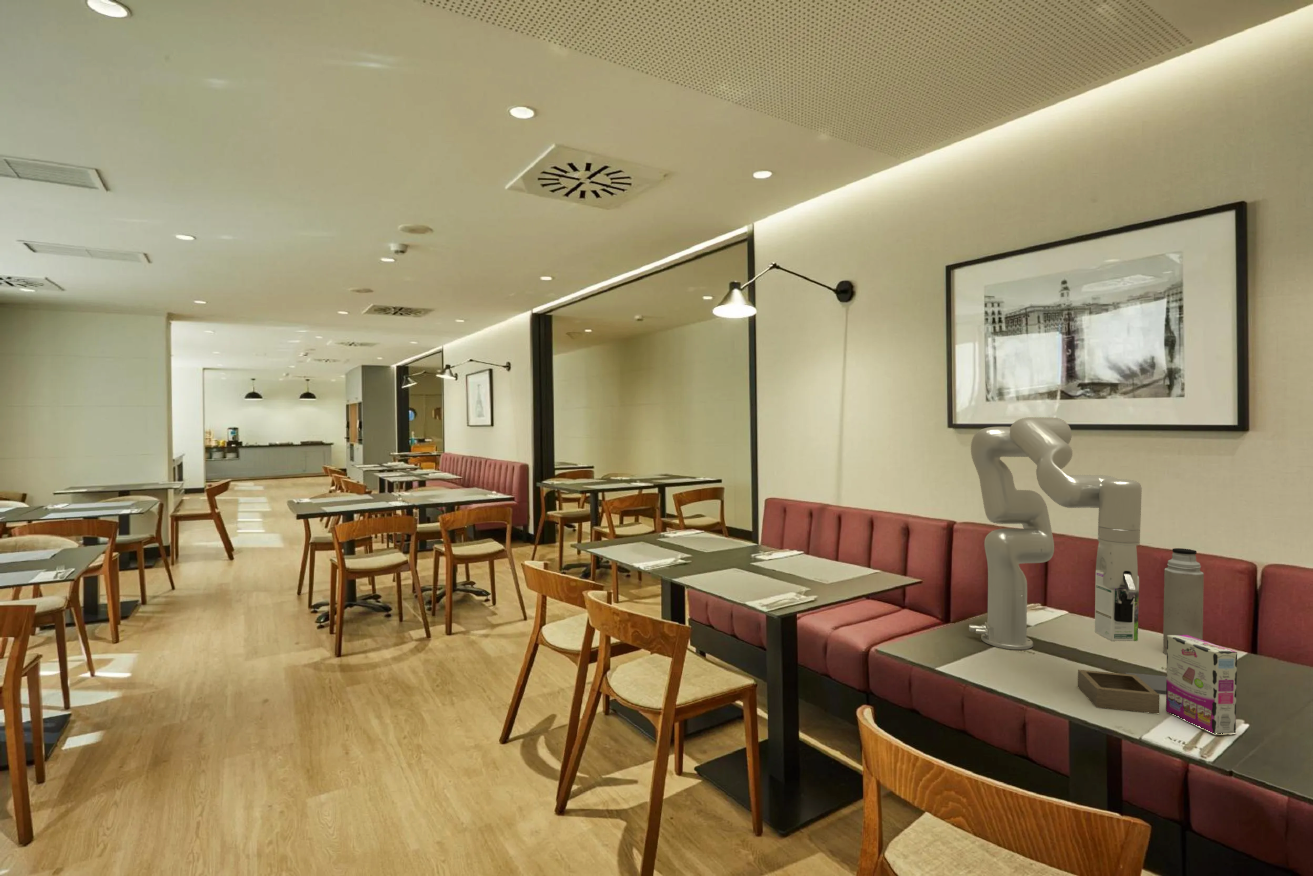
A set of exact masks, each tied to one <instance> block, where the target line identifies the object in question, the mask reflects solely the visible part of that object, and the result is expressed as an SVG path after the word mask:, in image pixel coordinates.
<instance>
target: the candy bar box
mask: <svg viewBox="0 0 1313 876" xmlns="http://www.w3.org/2000/svg"><path fill="white" fill-rule="evenodd" d="M1166 676H1167V677H1166V694H1165V712H1166V713H1167V714H1170V713H1171V714H1170V715H1172V714H1174V715H1176V716H1179V717H1180V718H1182V719H1185V720H1186V721H1188V722H1190V723H1193V724H1195V725H1197V726H1200V727H1201V728H1204V729H1206V730H1208V731H1210V732H1212V733H1214V734H1216V733H1217V734H1221V733H1222V734H1223V733H1236V732H1237V731H1236V730H1237V723H1236V722H1237V688H1238V687H1237V683H1238V681H1237V677H1238V652H1237V651H1235V650H1232V649H1228V648H1226V647H1224V646H1221V645H1217V644H1215V643H1212V642H1209V641H1206V640H1200V639H1198V638H1195V637H1192V636H1189V635H1167V655H1166ZM1174 715H1173V716H1174ZM1176 716H1175V717H1176ZM1180 718H1179V719H1180ZM1182 719H1181V720H1182ZM1186 721H1185V722H1186ZM1188 722H1187V723H1188ZM1190 723H1189V724H1190ZM1236 734H1237V733H1236Z"/></svg>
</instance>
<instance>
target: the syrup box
mask: <svg viewBox="0 0 1313 876" xmlns="http://www.w3.org/2000/svg"><path fill="white" fill-rule="evenodd" d="M1095 574H1096V578H1095V586H1094V587H1095V588H1094V590H1095V591H1094V592H1095V593H1094V594H1095V596H1094V597H1095V598H1094V601H1095V602H1094V604H1095V605H1094V609H1095V610H1094V633H1095V634H1097V635H1099V636H1100V637H1102V638H1104V639H1106V640H1108V641H1111V642H1138V641H1139V606H1140V605H1139V599H1140V594H1139V593H1140V592H1139V591H1140V576H1139V575H1138V578H1137V588H1136V594H1135V595H1134V597H1135V598H1134V599H1133V600H1134V604H1133V620H1132V622H1131V623H1129V622H1117V621H1115V620H1114V608H1115V602H1117V599H1116V588H1115V589H1114V590H1111V589H1109V588H1107V587H1106V586H1104V585H1103V576H1104V575H1103V571H1101V570H1096V569H1095ZM1119 588H1123V589H1126V587H1123V586H1119ZM1120 593H1121V596H1122V595H1123V593H1125V592H1120Z"/></svg>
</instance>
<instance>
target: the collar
mask: <svg viewBox="0 0 1313 876" xmlns="http://www.w3.org/2000/svg"><path fill="white" fill-rule="evenodd" d="M1078 687H1079V688H1078ZM1077 688H1078V689H1079V690H1080V691H1081V692H1082V693H1083V695H1085V697H1086V698H1087V697H1088V698H1089V699H1088V698H1087V699H1088V700H1089V701H1090V702H1091V703H1092V704H1093V705H1094V706H1095V707H1096V708H1099V709H1107V708H1109V709H1108V710H1117V711H1118V710H1119V711H1126V712H1136V713H1144V712H1149V713H1148V714H1154V713H1159V714H1160V695H1161V694H1158V693H1157V692H1155V691H1154V690H1153V689H1152V688H1151V687H1149V686H1148V685H1147V684H1146V683H1145V682H1143V681H1142V680H1141V679H1140V678H1139V677H1138V676H1136V675H1131V674H1125V673H1119V672H1117V673H1116V672H1108V671H1098V670H1097V671H1096V670H1088V669H1087V670H1086V669H1077Z"/></svg>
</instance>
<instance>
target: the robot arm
mask: <svg viewBox="0 0 1313 876" xmlns="http://www.w3.org/2000/svg"><path fill="white" fill-rule="evenodd" d="M1072 435H1073V434H1072V429H1071V427H1070V425H1069V423H1067V422H1066V421H1065V420H1063V419H1061V418H1058V417H1050V416H1049V417H1045V416H1043V417H1039V416H1038V417H1037V416H1036V417H1032V416H1031V417H1023V418H1020V419H1017V420H1015V421H1014V422H1013V423H1012V424H1011V426H991V427H985V428H982V429H980V430H978V431H977V432H975V433H974V435H973V437H972V440H971V443H970V455H971V459H972V463H973V465H974V467H975V470H976V472H977V475H978V478H979V484H980V491H981V497H982V503H983V509H984V512H985V516H986V518H987V520H988V521H989V522H991V523H994V524H999V525H1022V527H1023V528H1018V527H1017V528H1016V527H1015V528H1014V527H1013V528H998V529H994V530H991V531H990V532H988V534H986V536H985V538H984V542H983V543H984V544H983V545H984V546H983V547H984V551H985V557H986V562H987V563H986V564H987V621H985V622H984V624H981V625H977V624H968V631H969V632H970V633H971V632H973V633H975V634H976V635H977V634H978V635H980V637H981V638H980V639H981V640H982V641H983V642H984V643H986V644H988V645H991V646H992V647H996V648H1002V649H1007V650H1013V651H1015V650H1016V651H1018V650H1021V651H1022V650H1029V649H1031V648H1032V647H1033V646H1034V641H1033V640H1032V639H1030V638H1029V637H1028V636H1027V635H1028V634H1027V626H1028V624H1027V622H1028V619H1027V618H1028V614H1027V613H1028V581H1027V577H1026V575H1025V573H1024V571H1023V570H1022V568H1021V567H1020V564H1021V565H1022V564H1040V563H1041V564H1042V563H1046V562H1048V561H1050V560H1051V559H1052V558H1053V556H1054V552H1055V541H1054V537H1053V529H1052V527H1051V521H1050V514H1049V510H1048V507H1047V503H1046V501H1045V499H1044V497H1042V495H1041V494H1040V493H1038V492H1037V491H1034V490H1032V489H1031V490H1030V489H1017V488H1016V486H1015V482H1014V481H1015V480H1014V476H1013V473H1012V471H1011V469H1010V468H1009V467H1008V465H1007V464H1006V463H1005V462H1004V461H1003V460H1002V459H1001V458H1005V457H1006V458H1029V459H1030V460H1031V462H1033V464H1035V465H1036V469H1035V470H1036V471H1035V473H1036V479H1037V483H1038V485H1039V488H1040V489H1041V490H1042V492H1044V493H1045V494H1046V496H1048V498H1049V499H1051V500H1052V501H1053V502H1055V503H1056V504H1057V505H1059V506H1061V507H1064V508H1068V509H1080V508H1081V509H1086V508H1090V509H1098V517H1097V518H1098V519H1097V520H1098V521H1097V522H1098V523H1097V525H1098V526H1097V541H1098V545H1097V550H1096V551H1097V554H1096V561H1095V571H1096V570H1101V571H1103V575H1104V576H1103V585H1104V586H1106V587H1107V588H1109V589H1111V590H1114V589H1115V588H1116V599H1117V602H1115V608H1114V620H1115V621H1117V622H1129V623H1131V622H1132V620H1133V604H1134V600H1133V599H1134V598H1135V597H1134V595H1135V594H1136V588H1137V578H1138V576H1139V575H1138V569H1139V567H1138V566H1139V565H1138V552H1137V551H1138V550H1137V546H1140V544H1141V521H1142V520H1141V519H1142V518H1141V517H1142V489H1143V488H1142V486H1141V483H1140V482H1139V481H1137V480H1134V479H1127V478H1126V479H1125V478H1118V477H1115V476H1111V475H1104V474H1102V475H1101V474H1100V475H1099V474H1095V475H1094V474H1071V475H1070V474H1067V473H1066V472H1065V471H1063V469H1064V468H1065V467H1066V466H1067V465H1068V464H1069V463H1070V462H1071V460H1072V457H1073V449H1072V447H1071V445H1070V442H1071V440H1072ZM1094 578H1095V579H1096V573H1095V577H1094ZM1119 586H1123V587H1126V589H1123V588H1119ZM1120 592H1125V593H1123V595H1122V596H1121V593H1120Z"/></svg>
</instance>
